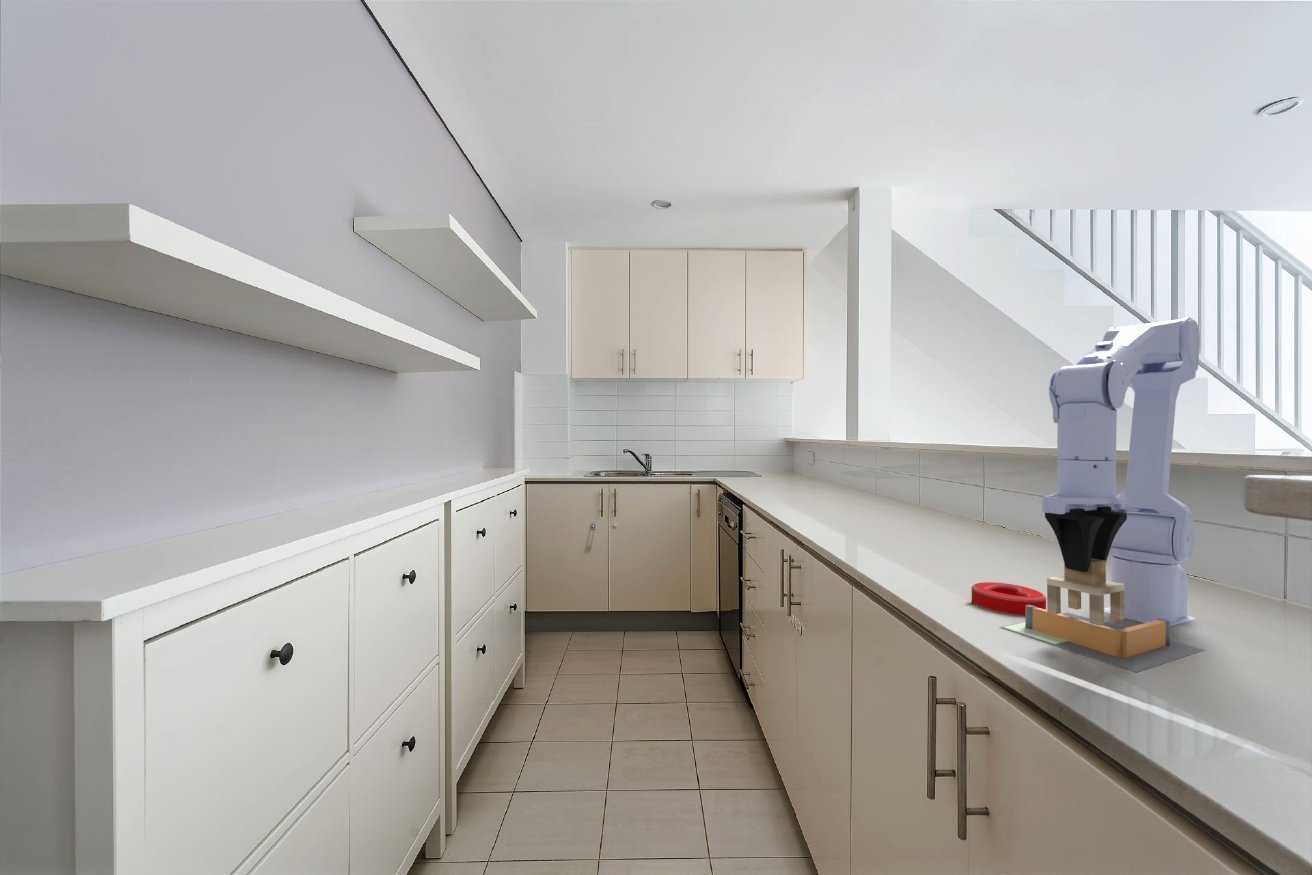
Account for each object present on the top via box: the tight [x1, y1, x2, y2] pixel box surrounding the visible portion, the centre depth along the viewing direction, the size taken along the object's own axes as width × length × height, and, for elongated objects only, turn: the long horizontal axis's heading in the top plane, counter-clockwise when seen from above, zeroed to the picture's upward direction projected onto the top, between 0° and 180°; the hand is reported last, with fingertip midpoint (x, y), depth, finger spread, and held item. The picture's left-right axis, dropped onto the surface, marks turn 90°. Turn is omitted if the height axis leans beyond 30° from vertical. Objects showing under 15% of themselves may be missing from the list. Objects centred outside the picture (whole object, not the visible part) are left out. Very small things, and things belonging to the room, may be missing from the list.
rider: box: [1046, 558, 1126, 626], centre depth 66 cm, size 6×6×7 cm
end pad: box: [1002, 621, 1068, 646], centre depth 70 cm, size 6×6×1 cm
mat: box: [999, 611, 1205, 673], centre depth 68 cm, size 16×15×1 cm
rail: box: [1024, 605, 1171, 659], centre depth 69 cm, size 11×11×3 cm
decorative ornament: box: [971, 581, 1047, 616], centre depth 82 cm, size 10×10×3 cm
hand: (1084, 568), depth 66 cm, fingers closed on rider, 3 cm apart
